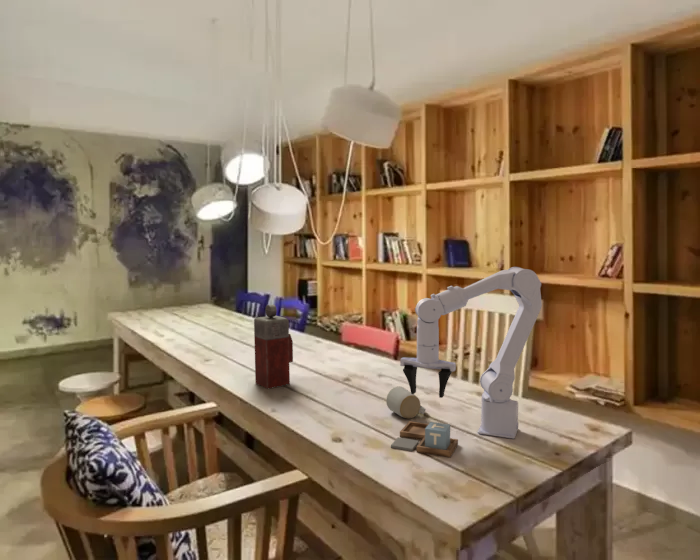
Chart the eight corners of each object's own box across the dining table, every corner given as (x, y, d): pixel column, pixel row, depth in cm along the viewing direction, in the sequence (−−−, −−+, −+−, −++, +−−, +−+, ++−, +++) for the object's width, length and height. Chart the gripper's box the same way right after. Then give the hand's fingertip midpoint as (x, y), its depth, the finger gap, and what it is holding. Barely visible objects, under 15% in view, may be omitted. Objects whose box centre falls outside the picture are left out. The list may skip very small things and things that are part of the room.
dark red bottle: (295, 383, 188) (294, 304, 186) (267, 389, 181) (265, 307, 179) (282, 377, 195) (281, 301, 193) (255, 383, 189) (253, 304, 186)
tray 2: (457, 444, 134) (457, 439, 133) (450, 457, 126) (450, 451, 126) (426, 439, 137) (426, 434, 137) (416, 452, 129) (416, 446, 129)
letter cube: (450, 444, 133) (450, 424, 132) (445, 452, 128) (445, 431, 128) (430, 441, 135) (430, 421, 134) (424, 448, 130) (425, 428, 130)
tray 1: (438, 430, 143) (438, 425, 143) (430, 441, 136) (430, 436, 136) (409, 426, 146) (409, 421, 146) (399, 436, 139) (399, 431, 139)
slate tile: (418, 442, 135) (418, 440, 135) (412, 451, 130) (412, 448, 130) (398, 439, 137) (397, 437, 137) (390, 447, 132) (390, 445, 132)
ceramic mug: (400, 422, 150) (401, 395, 149) (385, 413, 157) (386, 387, 156) (431, 416, 155) (432, 390, 154) (415, 408, 162) (416, 383, 161)
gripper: (396, 345, 140) (396, 395, 141) (451, 349, 133) (450, 402, 135) (405, 339, 146) (405, 388, 147) (457, 344, 140) (457, 394, 141)
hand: (427, 394), depth 141 cm, fingers open, 7 cm apart
